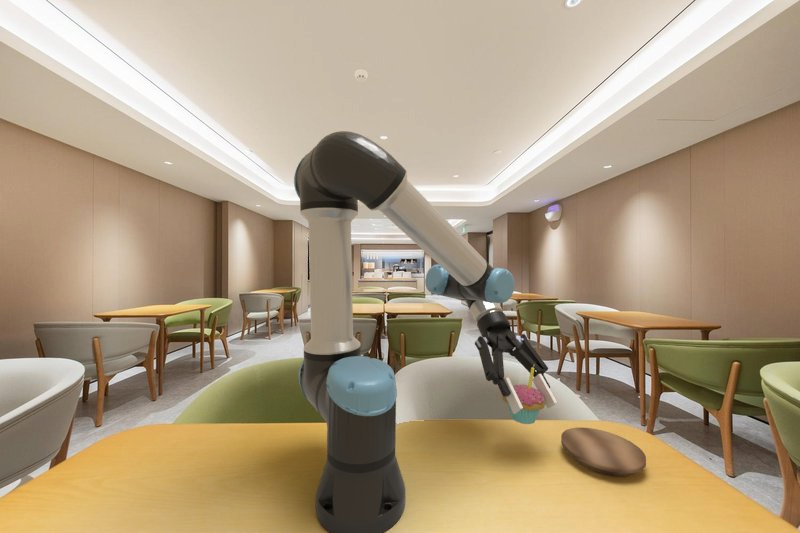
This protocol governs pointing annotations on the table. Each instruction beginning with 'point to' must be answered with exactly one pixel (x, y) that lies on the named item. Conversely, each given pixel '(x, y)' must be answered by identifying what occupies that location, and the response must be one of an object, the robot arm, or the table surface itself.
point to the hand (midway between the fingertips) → (535, 408)
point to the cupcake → (527, 402)
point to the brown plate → (603, 452)
